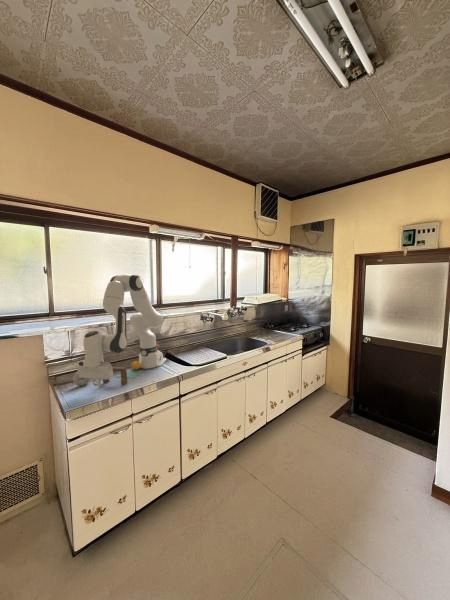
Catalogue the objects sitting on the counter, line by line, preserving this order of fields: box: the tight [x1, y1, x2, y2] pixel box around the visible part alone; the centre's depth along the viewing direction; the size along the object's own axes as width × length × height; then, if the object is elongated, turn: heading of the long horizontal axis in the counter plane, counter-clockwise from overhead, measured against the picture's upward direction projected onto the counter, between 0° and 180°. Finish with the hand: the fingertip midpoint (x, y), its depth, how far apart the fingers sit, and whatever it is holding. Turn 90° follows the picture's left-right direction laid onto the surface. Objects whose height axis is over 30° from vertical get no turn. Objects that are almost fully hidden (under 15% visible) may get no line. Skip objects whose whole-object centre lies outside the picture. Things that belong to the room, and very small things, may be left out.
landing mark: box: [115, 369, 145, 379], centre depth 163 cm, size 13×13×1 cm
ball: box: [131, 360, 141, 370], centre depth 171 cm, size 6×6×6 cm
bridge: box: [102, 366, 128, 386], centre depth 148 cm, size 3×15×10 cm, turn 76°
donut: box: [72, 370, 91, 387], centre depth 147 cm, size 10×4×10 cm, turn 136°
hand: (97, 385), depth 135 cm, fingers closed
